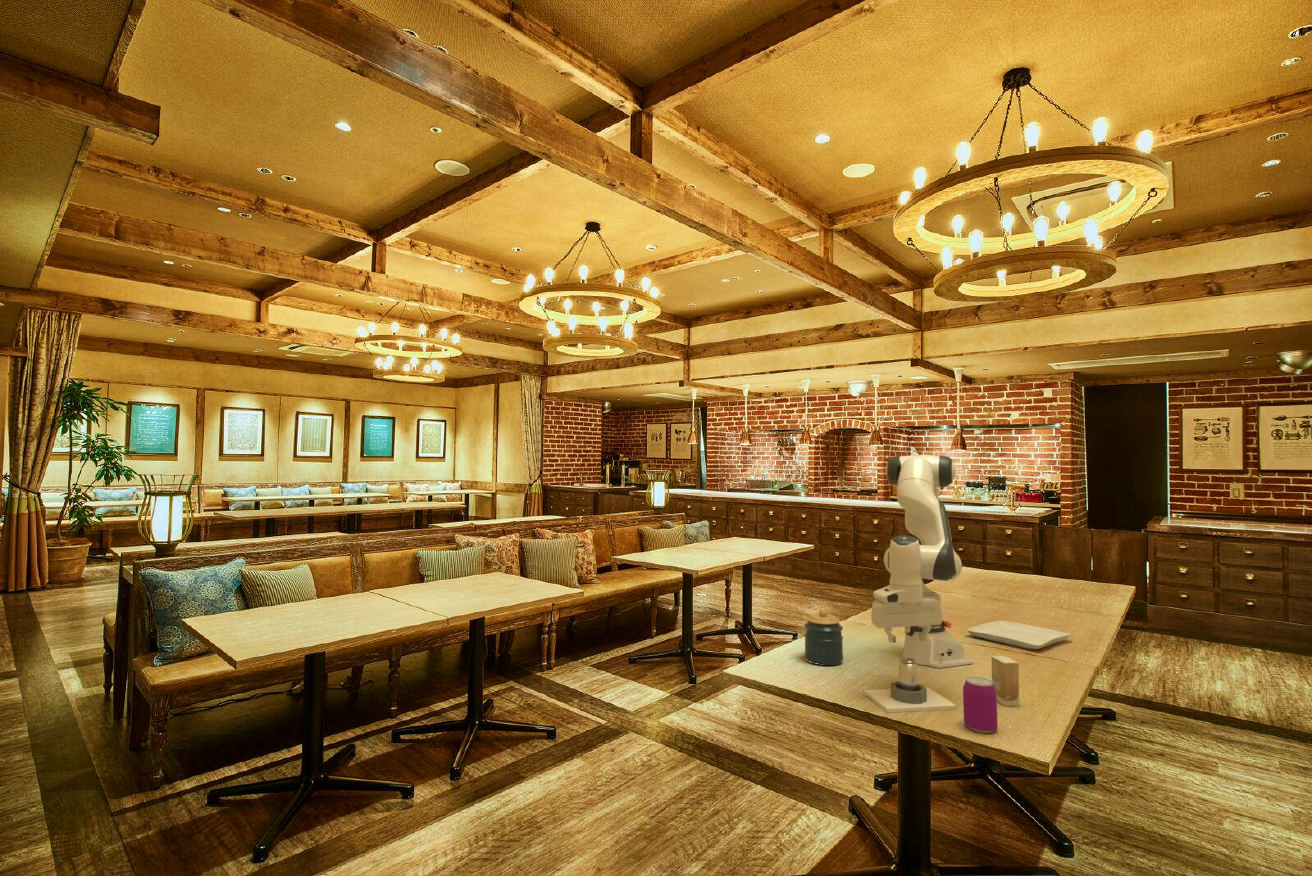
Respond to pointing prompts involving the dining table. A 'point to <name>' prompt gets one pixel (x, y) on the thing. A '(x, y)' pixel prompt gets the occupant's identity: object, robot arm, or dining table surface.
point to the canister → (823, 639)
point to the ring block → (909, 699)
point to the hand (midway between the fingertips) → (907, 641)
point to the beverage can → (980, 704)
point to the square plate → (1018, 634)
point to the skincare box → (1006, 680)
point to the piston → (908, 674)
